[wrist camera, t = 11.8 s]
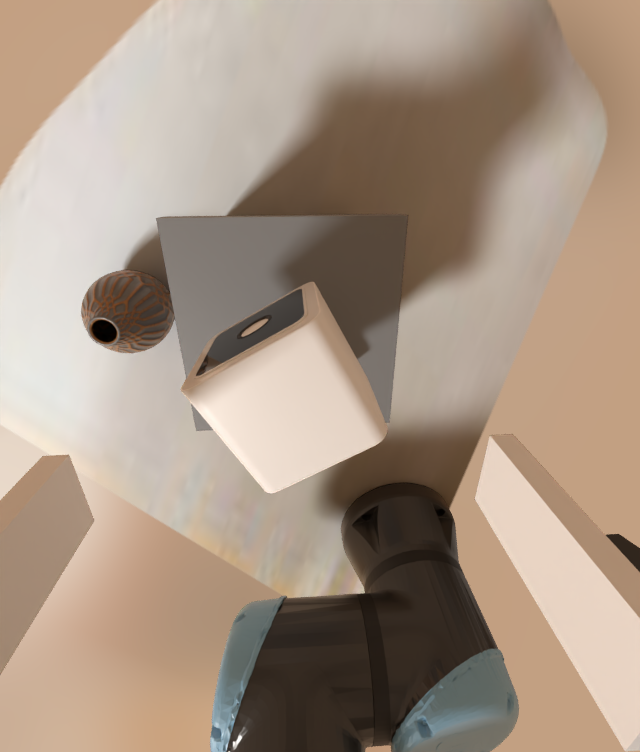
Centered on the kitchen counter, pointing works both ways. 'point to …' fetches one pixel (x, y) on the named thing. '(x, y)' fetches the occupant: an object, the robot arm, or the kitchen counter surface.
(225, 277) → the grey flat-topped box
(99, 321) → the vase
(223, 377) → the security camera
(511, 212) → the kitchen counter surface
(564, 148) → the kitchen counter surface
